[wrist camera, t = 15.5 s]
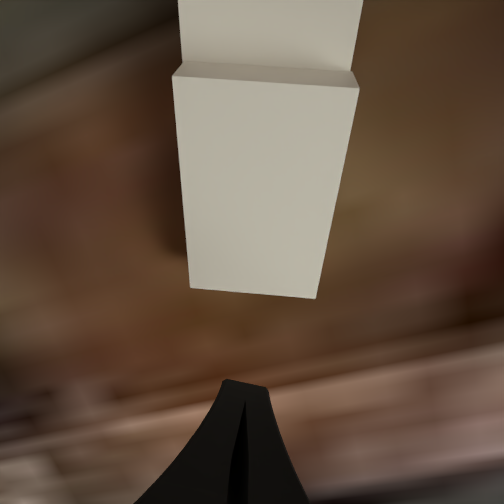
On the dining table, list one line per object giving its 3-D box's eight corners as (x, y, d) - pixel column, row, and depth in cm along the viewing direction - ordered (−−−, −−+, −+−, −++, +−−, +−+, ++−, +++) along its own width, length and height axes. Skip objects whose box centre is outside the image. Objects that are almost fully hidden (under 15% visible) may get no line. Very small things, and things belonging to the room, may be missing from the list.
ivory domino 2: (315, 298, 15) (359, 88, 10) (190, 287, 15) (172, 75, 10) (313, 271, 16) (352, 71, 11) (197, 261, 17) (184, 61, 12)
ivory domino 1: (330, 175, 14) (391, -152, 8) (189, 165, 14) (165, -160, 9) (327, 155, 15) (379, -140, 10) (198, 146, 15) (181, -148, 10)
